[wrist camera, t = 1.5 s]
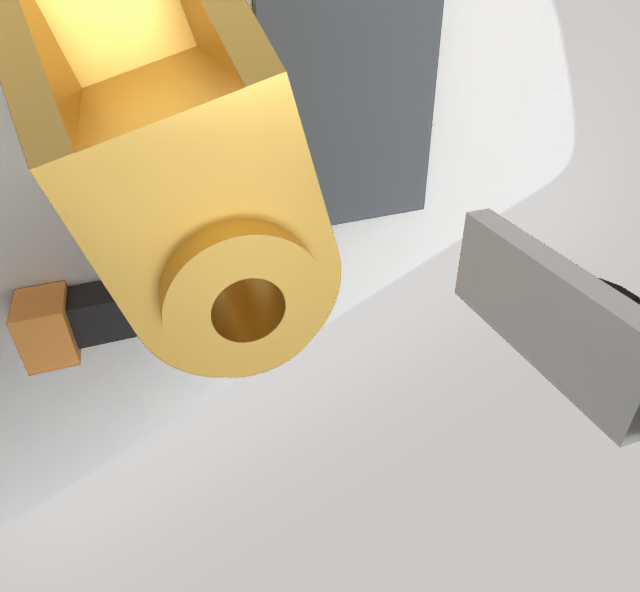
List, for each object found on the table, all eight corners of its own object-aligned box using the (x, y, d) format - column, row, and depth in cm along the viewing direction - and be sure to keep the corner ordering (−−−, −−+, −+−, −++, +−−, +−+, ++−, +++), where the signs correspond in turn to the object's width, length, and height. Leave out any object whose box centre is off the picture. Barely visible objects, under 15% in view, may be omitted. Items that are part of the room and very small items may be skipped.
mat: (270, 230, 37) (273, 235, 37) (245, -77, 28) (249, -78, 27) (418, 205, 41) (423, 208, 40) (444, -78, 31) (451, -79, 30)
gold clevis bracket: (278, 213, 37) (373, 344, 24) (155, 264, 36) (188, 430, 23) (152, -143, 25) (210, -247, 12) (-38, -82, 24) (-189, -130, 11)
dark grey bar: (34, 338, 36) (28, 376, 32) (14, 289, 33) (6, 324, 30) (275, 289, 40) (290, 317, 37) (271, 243, 38) (287, 269, 35)
